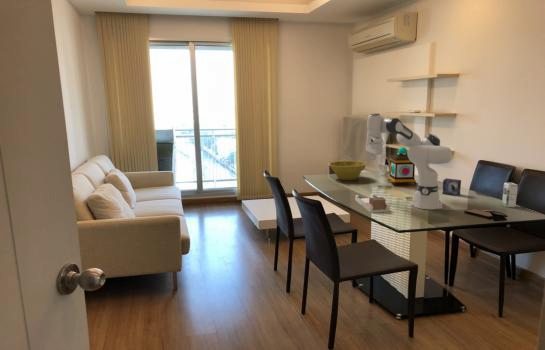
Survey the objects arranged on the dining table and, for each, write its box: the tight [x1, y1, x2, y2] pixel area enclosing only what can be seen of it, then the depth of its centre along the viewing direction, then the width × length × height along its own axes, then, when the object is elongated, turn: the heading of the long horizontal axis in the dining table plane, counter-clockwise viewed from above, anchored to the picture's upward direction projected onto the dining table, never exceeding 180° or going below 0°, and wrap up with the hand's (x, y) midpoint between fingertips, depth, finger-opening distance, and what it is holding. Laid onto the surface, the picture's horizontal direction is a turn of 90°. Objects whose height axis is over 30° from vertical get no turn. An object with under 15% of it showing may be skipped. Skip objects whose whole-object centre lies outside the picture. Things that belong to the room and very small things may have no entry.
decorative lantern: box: [387, 146, 417, 187], centre depth 311 cm, size 20×20×30 cm
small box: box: [441, 177, 462, 197], centre depth 277 cm, size 11×6×10 cm, turn 47°
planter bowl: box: [328, 160, 368, 181], centre depth 337 cm, size 32×32×13 cm
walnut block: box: [368, 196, 387, 209], centre depth 243 cm, size 6×8×6 cm
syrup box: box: [501, 182, 519, 208], centre depth 244 cm, size 6×6×14 cm
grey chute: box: [354, 193, 390, 213], centre depth 253 cm, size 30×12×4 cm, turn 6°
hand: (373, 159), depth 258 cm, fingers closed
